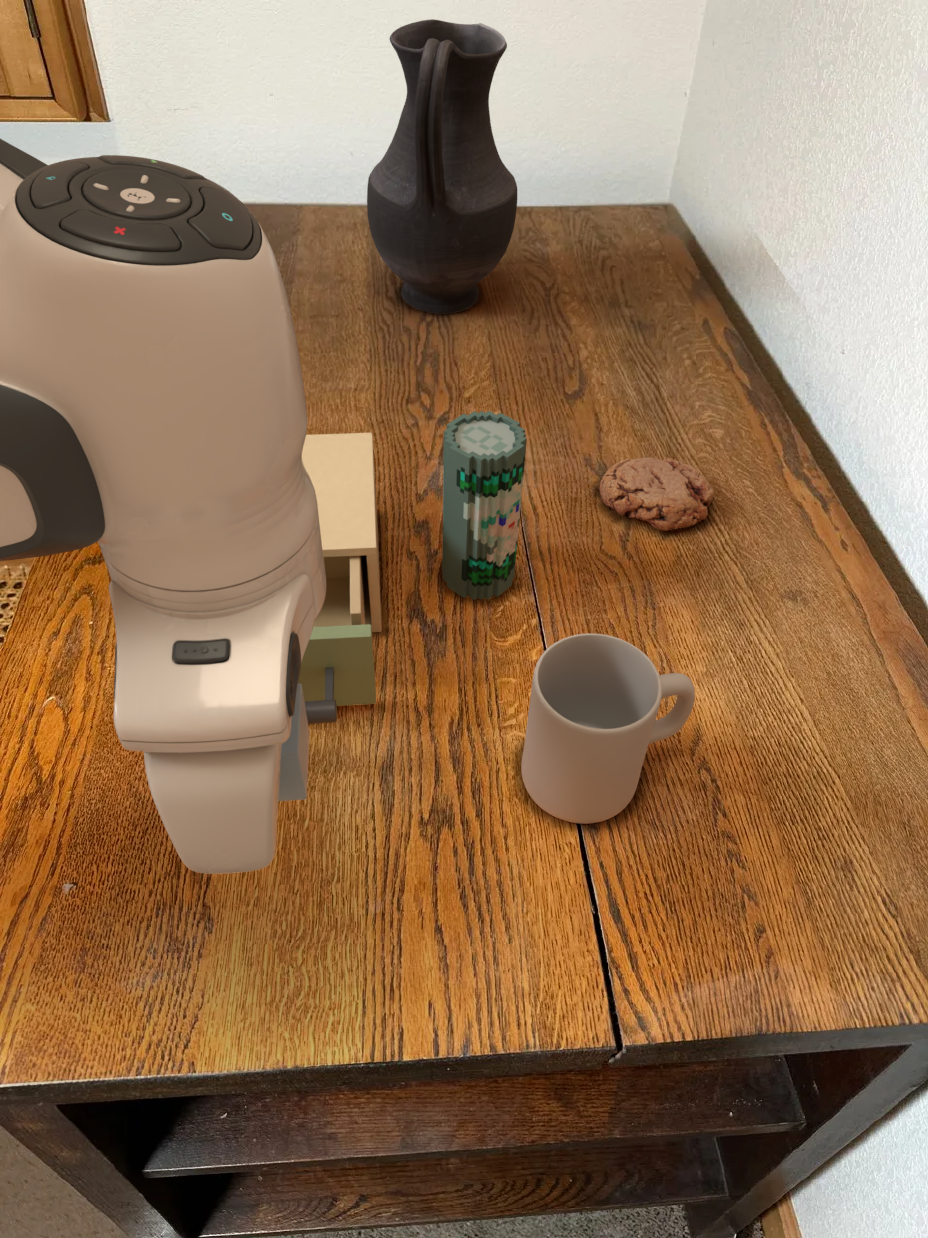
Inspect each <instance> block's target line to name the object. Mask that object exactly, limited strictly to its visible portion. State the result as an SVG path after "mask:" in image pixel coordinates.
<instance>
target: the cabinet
mask: <svg viewBox="0 0 928 1238" xmlns="http://www.w3.org/2000/svg"><path fill="white" fill-rule="evenodd" d="M302 461H303V464H304V467H305V469H306V471H307V472H308V474H309V476H310V479H311V481H312V484H313V486H314V489H315V493H316V498H317V504H318V514H319V523H320V532H321V540H322V549H323V557H338V556H361V555H362V556H363V569H364V590H365V624H371V629H372V633H381V632H382V629H383V628H382V627H383V626H382V605H381V602H382V601H381V581H380V580H381V577H380V576H381V575H380V554H379V527H378V526H379V525H378V507H377V506H378V505H377V492H376V491H377V489H376V473H375V472H376V471H375V456H374V438H373V432H353V433H351V432H350V433H348V432H347V433H322V434H321V433H320V434H306V438H305V442H304V446H303V451H302Z"/></svg>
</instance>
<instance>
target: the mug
mask: <svg viewBox="0 0 928 1238" xmlns="http://www.w3.org/2000/svg"><path fill="white" fill-rule="evenodd" d="M672 696H677V698H676V701H675V703H674V705H673V707H672V708H671V710H670V711H669V712H668V713H667V714H666V715H664V716H662V717H661V718H658V719H657V717H658V713H659V710H660V706H661V701H662V699H665V698H668V697H672ZM695 699H696V692H695V686H694V684H693V680H692V679H691V678H690V677H689V676H687V675H686V674H684V673H680V672H671V673H663V674H660V673H659V671H658V669H657V667H656V665H655V664H654V662H653V660H651V658H650V657H649V656H648V655H647V654H646V653H644V652H643V650H641V649H639V647H637V646H635V645H634V644H632V643H630V642H628V641H626V640H624V639H622V638H620V637H617V636H613V635H609V634H603V633H592V632H590V633H589V632H588V633H579V634H574V635H570V636H566V637H564V638H561V639H559V640H558V641H555V642H554V643H552V644H551V645H549V647H548V648H546V649H545V650H544V651H543V652H542V654H541V655H540V657H539V658H538V659H537V662H536V664H535V667H534V671H533V676H532V681H531V688H530V697H529V704H528V711H527V713H528V714H527V720H526V721H527V722H526V729H525V738H524V743H523V744H524V745H523V749H522V750H523V751H522V756H521V768H520V769H521V771H520V772H521V778H522V781H523V785H524V788H525V789H526V792H527V793H528V795H529V796H530V798H531V800H532V801H533V802H534V803H535V804H536V805H537V806H538V807H539V808H540V809H541V810H543V811H544V812H545V813H547V814H549V815H551V816H552V817H555V818H557V819H558V820H562V821H564V822H569V823H573V824H586V825H587V824H594V823H595V824H596V823H602V822H603V821H607V820H609V819H612V818H613V817H615V816H617V815H618V814H620V813H621V812H622V811H623V810H624V809H626V807H627V806H628V805H629V804H630V803H631V801H632V800H633V798H634V796H635V793H636V791H637V789H638V785H639V782H640V781H639V780H640V776H641V772H642V768H643V765H644V761H645V758H646V756H647V755H646V754H647V751H648V749H649V745H651V744H654V743H657V742H660V741H663V740H666V739H669V738H671V737H673V736H674V735H676V734H678V733H679V732H680V731H681V730H682V728H683V727H684V726H685V724H686V723H687V721H688V720H689V718H690V716H691V714H692V711H693V708H694V705H695V702H696V701H695Z"/></svg>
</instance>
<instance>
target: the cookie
mask: <svg viewBox="0 0 928 1238" xmlns="http://www.w3.org/2000/svg"><path fill="white" fill-rule="evenodd" d="M599 494H600V497H601V500H602V503H603V504H604V505H605V506H606V507H609V508H611V509H612V510H615V511H616V513H618V514H619V515H622V516H623V515H628V518H629V519H637V520H641V521H646V522H648V523H649V524H650V525H651V526H652V527H653V528H654V529H659V530H661V531H669V530H677V529H681V528H688V527H693V526H694V525H697V524H698V523H701V521H703V520H704V521H705V520H706V518H708V517H707V516H708V515H709V512H708V508H709V506H710V505H711V503H712V501H713V498H714V497H715V489H714V488H713V486H712V484H710V482H709V481H708V480H707V479H706V478H705V477H704V476H703V475H701V473H700V471H699V470H698V469H696V468H695V467H694V466H692V465H691V464H689V463H687V464H685V463H684V462H682V461H678V460H677V459H672V458H669V457H668V458H663V459H660V458H659V459H658V458H656V457H649V456H644V457H638V458H633V459H630V458H625V459H622V460H620V461H618V462H616V463H614V464H612V465H611V466H610V467H609V468H608V469H607V471H606V472H605V473H604V475H603V476H602V478H601V480H600V482H599Z"/></svg>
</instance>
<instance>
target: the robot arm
mask: <svg viewBox="0 0 928 1238" xmlns="http://www.w3.org/2000/svg"><path fill="white" fill-rule="evenodd" d="M291 310H292V309H291V307H290V302H289V299H288V294H287V290H286V287H285V283H284V280H283V277H282V274H281V270H280V267H279V264H278V261H277V257H276V255H275V252H274V250H273V248H272V246H271V244H270V241H269V239H268V237H267V235H266V233H265V231H264V229H263V228H262V225H261V224H260V223H259V222H258V220H257V219H256V217H255V216H254V214H253V213H252V212H251V211H250V209H249V208H248V207H247V206H246V205H245V204H244V202H243V201H241V200H240V199H239V198H238V197H236V196H235V195H234V194H233V193H232V192H231V191H229V190H228V189H227V188H225V187H223V186H221V185H220V184H218V183H217V182H215V181H212V180H211V179H209V178H207V177H205V176H204V175H202V174H200V173H198V172H196V171H193V170H191V169H188V168H186V167H183V166H180V165H177V164H173V163H170V162H166V161H163V160H158V159H154V158H147V157H141V156H133V155H119V154H118V155H117V154H113V155H112V154H103V155H102V154H101V155H99V156H89V157H78V158H71V159H66V160H62V161H57V162H53V163H51V164H47V163H45V162H44V161H41V160H40V159H38V158H36V157H35V156H32V155H31V154H29V153H28V152H25V151H24V150H22V149H20V148H18V147H16V146H14V145H13V144H11V143H9V142H7V141H6V140H4V139H2V138H0V562H6V561H16V560H24V559H31V558H40V557H41V558H42V557H47V556H53V555H58V554H63V553H64V554H65V553H69V552H73V551H78V550H81V549H85V548H88V547H90V546H92V545H94V544H98V547H99V548H100V551H101V555H102V557H103V561H104V563H105V566H106V569H107V571H108V575H109V577H110V581H109V582H108V594H109V598H110V599H109V600H110V603H111V608H112V613H113V618H114V619H113V620H114V627H115V637H116V638H115V639H116V640H115V641H116V642H115V649H114V650H115V651H114V653H115V654H114V683H113V726H114V730H115V732H116V736H117V738H118V740H119V742H120V744H121V746H122V748H123V749H125V750H126V751H129V752H139V753H140V752H141V753H142V752H143V761H144V768H145V775H146V780H147V784H148V788H149V792H150V794H151V797H152V800H153V802H154V805H155V807H156V810H157V812H158V815H159V817H160V819H161V821H162V824H163V826H164V829H165V831H166V833H167V835H168V837H169V839H170V841H171V843H172V845H173V847H174V850H175V851H176V853H177V855H178V856H179V859H180V860H181V862H182V864H183V865H184V866H185V867H187V869H189V870H191V871H192V872H195V873H199V874H204V875H205V874H206V875H208V874H210V875H220V874H222V875H223V874H224V875H225V874H240V873H250V872H254V871H255V872H256V871H260V870H263V869H265V868H267V867H269V866H270V865H271V864H272V862H273V861H274V860H275V857H276V853H277V843H278V841H277V840H278V813H279V801H278V799H279V783H280V767H281V751H282V743H284V742H286V741H287V740H288V738H289V736H290V732H291V721H292V716H293V715H294V708H295V700H296V692H297V685H298V679H299V675H300V670H301V662H302V658H303V656H304V653H305V650H306V647H307V645H308V642H309V639H310V636H311V633H312V630H313V626H314V621H315V619H316V618H317V616H318V614H319V612H320V610H321V608H322V606H323V603H324V599H325V595H326V575H325V566H324V557H323V549H322V540H321V532H320V523H319V514H318V504H317V498H316V493H315V489H314V486H313V484H312V481H311V479H310V476H309V474H308V472H307V471H306V469H305V467H304V464H303V461H302V451H303V446H304V442H305V438H306V435H307V432H308V408H307V400H306V392H305V385H304V377H303V370H302V364H301V357H300V351H299V345H298V340H297V334H296V329H295V325H294V320H293V314H292V311H291Z"/></svg>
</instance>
